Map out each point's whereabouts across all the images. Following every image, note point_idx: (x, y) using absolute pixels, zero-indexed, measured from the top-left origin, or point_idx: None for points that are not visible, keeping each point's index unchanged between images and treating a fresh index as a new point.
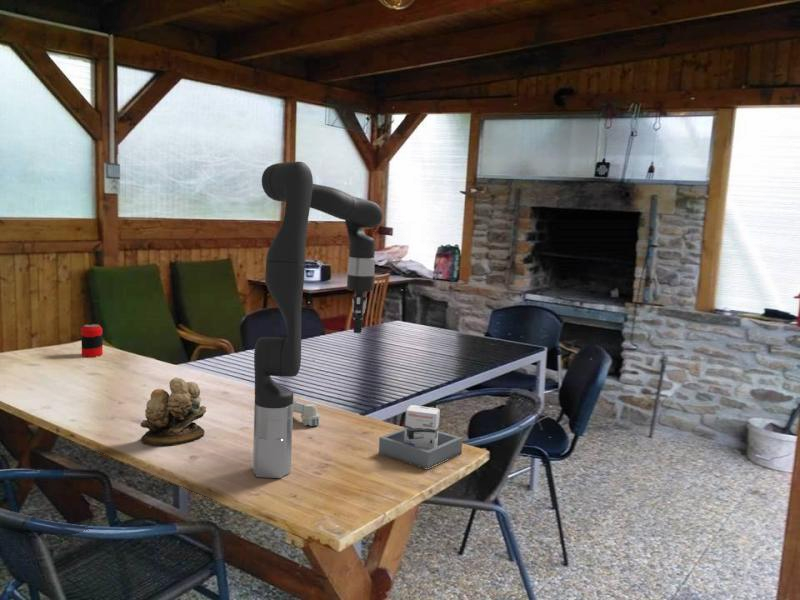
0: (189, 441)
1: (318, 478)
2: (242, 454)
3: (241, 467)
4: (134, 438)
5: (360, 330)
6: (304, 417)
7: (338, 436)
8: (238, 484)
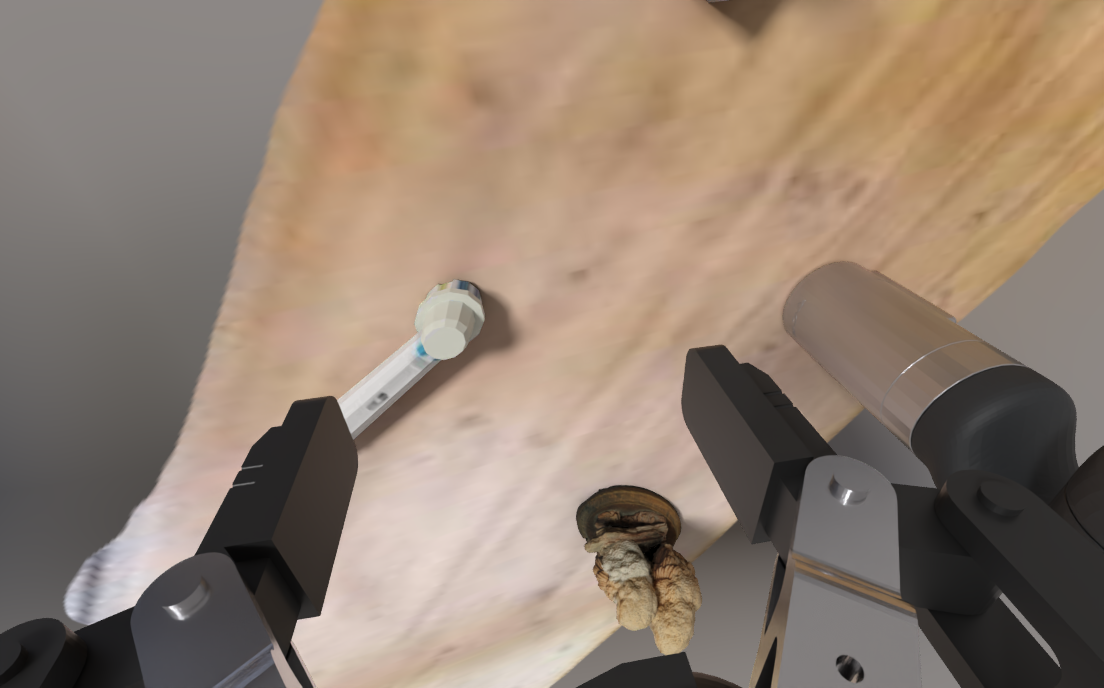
0: (652, 492)
1: (891, 182)
2: None
3: (796, 365)
4: None
5: (730, 365)
6: (479, 332)
7: (548, 191)
8: None
